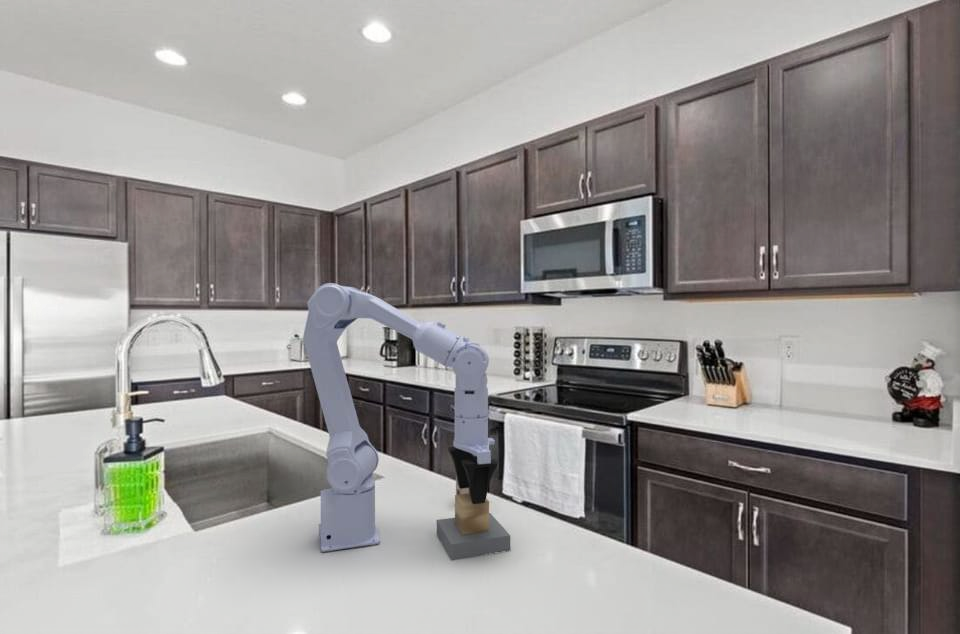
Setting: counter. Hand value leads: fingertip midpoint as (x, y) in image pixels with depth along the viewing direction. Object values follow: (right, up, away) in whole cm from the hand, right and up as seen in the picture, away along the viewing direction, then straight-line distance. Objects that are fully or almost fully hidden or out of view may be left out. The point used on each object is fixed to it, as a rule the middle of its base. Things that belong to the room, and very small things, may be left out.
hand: (471, 494), depth 83 cm
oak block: (0, -6, 0) cm, 6 cm away
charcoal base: (0, -9, 0) cm, 9 cm away
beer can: (-1, -8, +16) cm, 18 cm away
